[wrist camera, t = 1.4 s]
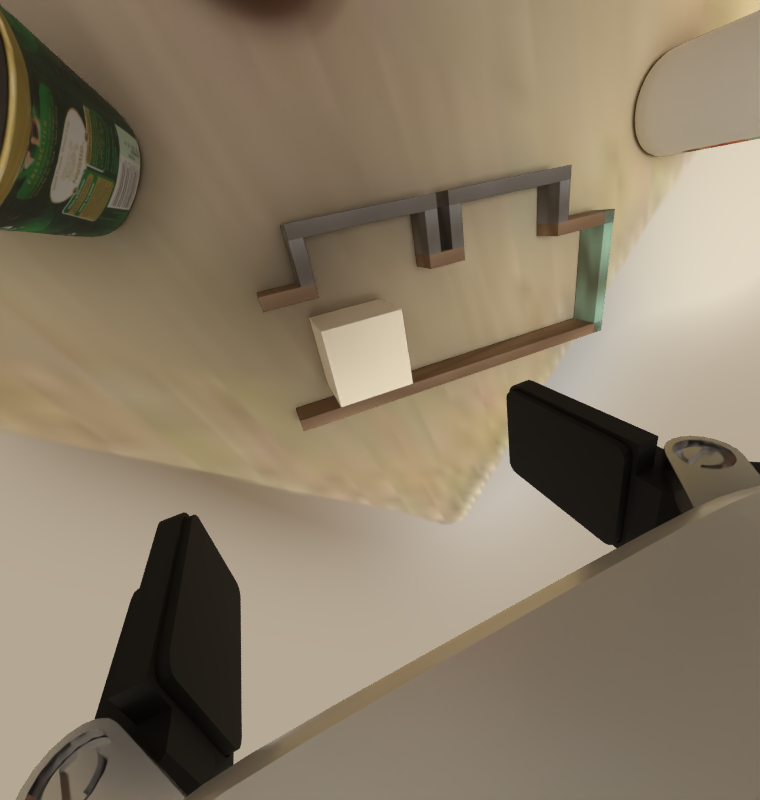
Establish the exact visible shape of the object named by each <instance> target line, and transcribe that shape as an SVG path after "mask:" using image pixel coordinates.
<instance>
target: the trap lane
mask: <svg viewBox="0 0 760 800" xmlns="http://www.w3.org/2000/svg"><path fill="white" fill-rule="evenodd" d="M570 181H571V165H567V166H562V167H558V168H553V169H548V170H543V171H538V172H533V173H529V174H524V175H519V176H514V177H509V178H504V179H500V180H495V181H490V182H485V183H480V184H475V185H471V186H466V187H461V188H456V189H451V190H446V191H442V192H437V193H432V194H427V195H422V196H417V197H413V198H408V199H403V200H398V201H393V202H388V203H384V204H379V205H374V206H369V207H364V208H359V209H355V210H350V211H345V212H340V213H335V214H330V215H326V216H321V217H316V218H311V219H306V220H301V221H297V222H292V223H287V224H282V225H280V227H281V231H282V234H283V238H284V241H285V245H286V248H287V252H288V255H289V259H290V262H291V266H292V269H293V273H294V276H295V280H296V283H294V284H290V285H286V286H282V287H278V288H274V289H270V290H266V291H262V292H258V293H257V295H258V299H259V302H260V304H261V307H262V310H263V312H266V311H270V310H274V309H277V308H281V307H285V306H289V305H293V304H297V303H301V302H304V301H308V300H312V299H316V298H319V297H318V293H317V289H316V285H315V281H314V278H313V274H312V270H311V266H310V262H309V258H308V255H307V251H306V247H305V243H304V239H303V238H304V237H308V236H313V235H317V234H322V233H326V232H331V231H336V230H340V229H345V228H349V227H354V226H359V225H363V224H368V223H372V222H377V221H382V220H386V219H391V218H395V217H400V216H404V215H409V214H411V221H412V229H413V237H414V245H415V253H416V261H417V266H418V267H424V268H429V269H432V268H436V267H440V266H444V265H448V264H451V263H455V262H459V261H463V260H465V253H464V238H463V223H462V208H461V203H464V202H469V201H473V200H478V199H483V198H487V197H492V196H496V195H501V194H505V193H510V192H515V191H519V190H524V189H528V188H533V187H538V204H537V236H560V235H564V234H567V233H571V232H575V231H579V230H581V231H580V245H579V258H578V271H577V285H576V298H575V311H574V318H573V319H570V320H567V321H564V322H561V323H558V324H555V325H552V326H549V327H545V328H542V329H539V330H536V331H533V332H530V333H527V334H524V335H521V336H518V337H515V338H512V339H508V340H505V341H502V342H499V343H496V344H493V345H490V346H487V347H484V348H481V349H478V350H475V351H472V352H468V353H465V354H462V355H459V356H456V357H453V358H450V359H447V360H444V361H441V362H438V363H435V364H431V365H428V366H425V367H422V368H419V369H416V370H413V371H411V373H412V380H413V384H410V385H407V386H404V387H401V388H398V389H395V390H392V391H389V392H386V393H383V394H380V395H377V396H374V397H371V398H368V399H365V400H362V401H359V402H356V403H353V404H350V405H347V406H344V407H341V406H340V404H339V402H338V401H337V399H336V397H335V396H333V397H330V398H327V399H324V400H321V401H317V402H314V403H311V404H308V405H305V406H302V407H299V408H296V410H297V413H298V416H299V419H300V422H301V425H302V428H303V431H306V430H309V429H312V428H315V427H318V426H321V425H324V424H327V423H330V422H333V421H336V420H339V419H342V418H344V417H347V416H350V415H353V414H356V413H359V412H362V411H365V410H368V409H371V408H374V407H377V406H380V405H383V404H386V403H389V402H391V401H394V400H397V399H400V398H403V397H406V396H409V395H412V394H415V393H418V392H421V391H424V390H427V389H430V388H433V387H435V386H438V385H441V384H444V383H447V382H450V381H453V380H456V379H459V378H462V377H465V376H468V375H471V374H474V373H477V372H479V371H482V370H485V369H488V368H491V367H494V366H497V365H500V364H503V363H506V362H509V361H512V360H515V359H518V358H521V357H524V356H526V355H529V354H532V353H535V352H538V351H541V350H544V349H547V348H550V347H553V346H556V345H559V344H562V343H565V342H568V341H570V340H573V339H576V338H579V337H582V336H585V335H588V334H591V333H594V332H597V331H600V330H601V325H602V316H603V308H604V298H605V290H606V281H607V272H608V263H609V255H610V246H611V237H612V228H613V219H614V211H615V209H608V210H594V211H587V212H583V213H579V214H575V215H571V216H568V215H569V198H570Z"/></svg>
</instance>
